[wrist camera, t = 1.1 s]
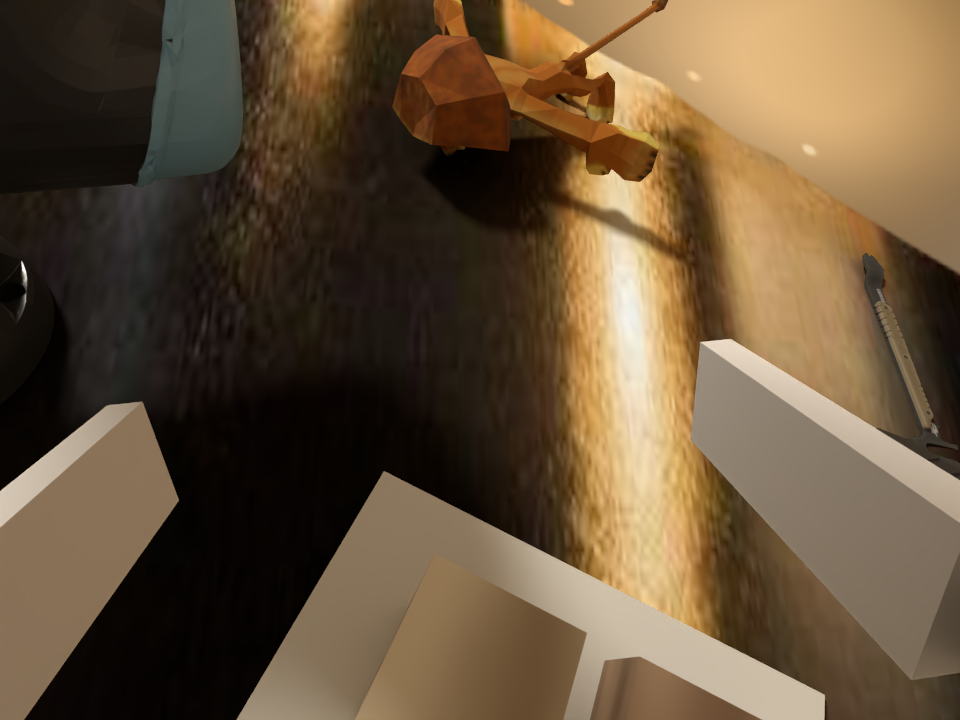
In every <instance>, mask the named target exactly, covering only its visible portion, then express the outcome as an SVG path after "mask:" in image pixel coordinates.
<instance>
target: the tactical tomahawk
mask: <svg viewBox="0 0 960 720" xmlns="http://www.w3.org/2000/svg"><path fill="white" fill-rule="evenodd" d="M862 262H863V264H864V267H865V269H866V278H865V290H866V292H867V295H868V297H869V300H870V303H871V305H872V308H873V309H874V313H875V315H876V318H877V321H878V322H879V326H880V328H881V331H882V333H883V334H884V338H885V339H886V340H885V341H886V343H887V346H888V348H889V351H890V353H891V356H892V359H893V361H894V364H895V366H896V369H897V371H898V374H899V377H900V379H901V382H902V384H903V387H904V389H905V392H906V395H907V397H908V400H909V402H910V405H911V407H912V410H913V413H914V415H915V418H916V420H917V423H918V425H919V428H920V431H921V432H922V436H921V437H919V438H917V437H914V438H911V439H909V440H910V441H913V442H914V443H916V444H918V445H919V446H921V447H923V448H924V449H926V450H927V448H926V444H929V445H936V446H941V447H947V448H952V449H957V450H958V447H957V445H954V444H949V443H946V442H943V441H942V440H941V438H940V436H939V428H940V427H939V426H938V425H936V424H935V423H933V421H932V418H933V414H932V411H931V409H929V407H930V406H929V404H928V403H927V399H926V398H925V394H924V393H923V389H922V387H921V384H920V381H919V378H918V376H917V373H916V371H915V368H914V365H913V363H912V360H911V357H910V355H909V352H907V351H908V350H907V347H906V344H905V342H904V339H902V334H901V332H900V329H899V326H897V325H898V324H897V321H896V320H895V316H894V314H893V311H892V308H891V307H890V306H888V305H887V303H886V300H885V298H884V295H883V292H882V282H883V278H884V269H883V268H882V267H881V265H880V264H879V263H878V261H877V260H876V259H875V258H874V257H873V256H872V255H871V256H870V257H869V255H868V254H867V253H865V254H864V255H863V259H862ZM938 457H939V458H940V460H941V462H945V461H946V462H948V463H949V464H951V465H953V466H954V467H956V468H958V469H959V470H960V463H958V462H956V461H954V460H951V459H946V458H943V457H941V456H938Z"/></svg>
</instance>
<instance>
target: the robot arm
mask: <svg viewBox="0 0 960 720" xmlns="http://www.w3.org/2000/svg"><path fill="white" fill-rule="evenodd" d="M242 124H243V111H242V82H241V65H240V53H239V41H238V30H237V19H236V11H235V3H234V0H0V194H10V193H23V192H35V191H48V190H61V189H73V188H86V187H99V186H111V185H124V184H131V185H133V186H135V187H143V186H144V185H149V184H151V183H152V182H153V180H160V179H168V178H176V177H183V176H191V175H199V174H207V173H212V172H215V171H217V170H219V169H221V168H223V167H224V166H225V165H226V164H227V163H228V162H229V161H230V160H231V159H232V158H233V157H234V155H235V153H236V151H237V150H238V149H239V145H240V141H241V135H242ZM54 321H55V310H54V303H53V299H52V296H51V293H50V291H49V289H48V286H47V285H46V283H45V282H44V280H43V279H42V278H41V277H40V275H39V274H38V273H37V272H36V270H35V269H34V268H33V267H32V265H31V264H30V263H29V262H28V260H27V259H26V258H25V257H24V255H23V254H22V253H21V252H20V251H19V250H18V249H17V248H15V247H14V246H13V245H12V244H11V243H9V242H8V241H7V240H6V239H4V238H3V237H1V236H0V405H1V404H2V403H3V402H5V401H6V400H7V399H8V398H9V397H10V396H11V395H12V394H13V393H14V392H15V391H16V390H17V389H18V388H19V387H20V386H21V385H22V384H23V383H24V382H25V381H26V380H27V378H28V377H29V376H30V375H31V373H32V372H33V371H34V369H35V368H36V367H37V365H38V364H39V362H40V360H41V359H42V357H43V355H44V353H45V351H46V349H47V347H48V345H49V342H50V339H51V336H52V332H53V328H54ZM691 441H692V442H693V443H694V444H695V445H696V446H697V447H698V448H699V449H700V450H701V452H702V453H703V454H704V455H705V456H706V457H707V458H708V459H709V460H710V461H711V462H712V464H713V465H714V466H715V467H716V468H717V469H718V470H719V471H720V472H721V473H722V474H723V476H724V477H725V478H726V479H727V480H728V481H729V482H730V483H731V484H732V485H733V486H734V488H735V489H736V490H737V491H738V492H739V493H740V494H741V495H742V496H743V497H744V498H745V500H746V501H747V502H748V503H749V504H750V505H751V506H752V507H753V508H754V509H755V510H756V512H757V513H758V514H759V515H760V516H761V517H762V518H763V519H764V520H765V521H766V522H767V523H768V525H769V526H770V527H771V528H772V529H773V530H774V531H775V532H776V533H777V534H778V535H779V537H780V538H781V539H782V540H783V541H784V542H785V543H786V544H787V545H788V546H789V547H790V549H791V550H792V551H793V552H794V553H795V554H796V555H797V556H798V557H799V558H800V559H801V561H802V562H803V563H804V564H805V565H806V566H807V567H808V568H809V569H810V570H811V571H812V573H813V574H814V575H815V576H816V577H817V578H818V579H819V580H820V581H821V582H822V583H823V585H824V586H825V587H826V588H827V589H828V590H829V591H830V592H831V593H832V594H833V595H834V597H835V598H836V599H837V600H838V601H839V602H840V603H841V604H842V605H843V606H844V607H845V609H846V610H847V611H848V612H849V613H850V614H851V615H852V616H853V617H854V618H855V619H856V621H857V622H858V623H859V624H860V625H861V626H862V627H863V628H864V629H865V630H866V631H867V633H868V634H869V635H870V636H871V637H872V638H873V639H874V640H875V641H876V642H877V643H878V645H879V646H880V647H881V648H882V649H883V650H884V651H885V652H886V653H887V654H888V655H889V656H890V658H891V659H892V660H893V661H894V662H895V663H896V664H897V665H898V666H899V667H900V668H901V670H902V671H903V672H904V673H905V674H906V675H907V676H908V677H909V678H910V679H911V680H916V679H923V678H929V677H936V676H942V675H949V674H955V673H960V470H959V469H958V468H956V467H954V466H953V465H951V464H949V463H948V462H946V461H945V462H941V460H940V458H939V457H938V456H936V455H934V454H933V453H931V452H929V451H928V450H926V449H924V448H923V447H921V446H919V445H918V444H916V443H914V442H913V441H910V440H908V439H905V438H902V437H900V436H897V435H895V434H892V433H889V432H887V431H884V430H881V429H879V428H874V427H873V426H871V425H869V424H868V423H866V422H864V421H863V420H861V419H860V418H858V417H856V416H855V415H853V414H851V413H850V412H848V411H847V410H845V409H843V408H842V407H840V406H838V405H837V404H835V403H834V402H832V401H830V400H829V399H827V398H825V397H824V396H822V395H821V394H819V393H817V392H816V391H814V390H813V389H811V388H809V387H808V386H806V385H804V384H803V383H801V382H800V381H798V380H796V379H795V378H793V377H791V376H790V375H788V374H787V373H785V372H783V371H782V370H780V369H778V368H777V367H775V366H774V365H772V364H770V363H769V362H767V361H766V360H764V359H762V358H761V357H759V356H757V355H756V354H754V353H753V352H751V351H749V350H748V349H746V348H744V347H743V346H741V345H740V344H738V343H736V342H735V341H733V340H731V339H726V340H717V341H708V342H700V352H699V361H698V371H697V381H696V391H695V401H694V411H693V421H692V431H691ZM178 501H179V499H178V497H177V494H176V491H175V488H174V486H173V483H172V480H171V478H170V475H169V472H168V470H167V467H166V464H165V461H164V459H163V456H162V453H161V451H160V448H159V445H158V443H157V440H156V437H155V434H154V432H153V429H152V426H151V424H150V421H149V418H148V415H147V413H146V410H145V407H144V405H143V402H135V403H125V404H116V405H107V406H106V407H105V408H103V409H102V410H101V411H100V412H98V413H97V414H96V415H95V416H93V417H92V418H91V419H90V420H88V421H87V422H86V423H85V424H83V425H82V426H81V427H80V428H78V429H77V430H76V431H75V432H73V433H72V434H71V435H70V436H68V437H67V438H66V439H65V440H63V441H62V442H61V443H60V444H58V445H57V446H56V447H55V448H53V449H52V450H51V451H50V452H48V453H47V454H46V455H45V456H43V457H42V458H41V459H40V460H38V461H37V462H36V463H35V464H33V465H32V466H31V467H30V468H28V469H27V470H26V471H25V472H23V473H22V474H21V475H20V476H18V477H17V478H16V479H15V480H13V481H12V482H11V483H10V484H8V485H7V486H6V487H5V488H3V489H2V490H1V491H0V720H24V719H25V718H26V716H27V715H28V714H29V712H30V711H31V709H32V708H33V706H34V705H35V704H36V702H37V701H38V699H39V698H40V697H41V695H42V694H43V692H44V691H45V689H46V688H47V687H48V685H49V684H50V682H51V681H52V680H53V678H54V677H55V675H56V674H57V672H58V671H59V670H60V668H61V667H62V665H63V664H64V663H65V661H66V660H67V658H68V657H69V655H70V654H71V653H72V651H73V650H74V648H75V647H76V646H77V644H78V643H79V641H80V640H81V638H82V637H83V636H84V634H85V633H86V631H87V630H88V629H89V627H90V626H91V624H92V623H93V621H94V620H95V619H96V617H97V616H98V614H99V613H100V612H101V610H102V609H103V607H104V606H105V604H106V603H107V602H108V600H109V599H110V597H111V596H112V595H113V593H114V592H115V590H116V589H117V587H118V586H119V585H120V583H121V582H122V580H123V579H124V578H125V576H126V575H127V573H128V572H129V570H130V569H131V568H132V566H133V565H134V563H135V562H136V561H137V559H138V558H139V556H140V555H141V553H142V552H143V551H144V549H145V548H146V546H147V545H148V544H149V542H150V541H151V539H152V538H153V536H154V535H155V534H156V532H157V531H158V529H159V528H160V527H161V525H162V524H163V522H164V521H165V519H166V518H167V517H168V515H169V514H170V512H171V511H172V510H173V508H174V507H175V505H176V504H177V502H178Z"/></svg>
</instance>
